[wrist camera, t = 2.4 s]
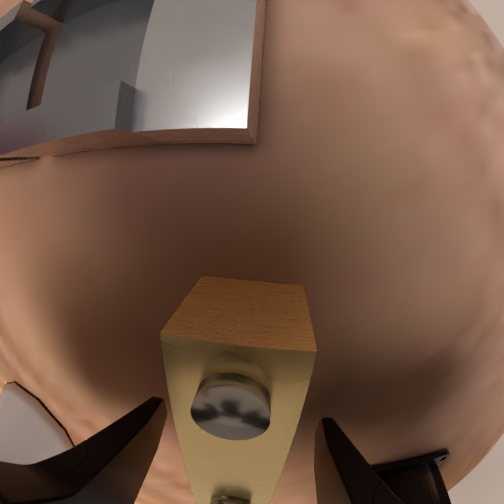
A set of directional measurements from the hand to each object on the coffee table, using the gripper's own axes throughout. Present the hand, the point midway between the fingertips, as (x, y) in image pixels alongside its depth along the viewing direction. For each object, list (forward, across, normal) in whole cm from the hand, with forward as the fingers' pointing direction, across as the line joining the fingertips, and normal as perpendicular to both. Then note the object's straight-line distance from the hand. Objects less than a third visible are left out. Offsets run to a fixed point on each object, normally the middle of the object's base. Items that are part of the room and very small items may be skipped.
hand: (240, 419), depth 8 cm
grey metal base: (+1, +8, -12) cm, 14 cm away
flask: (+1, +16, +9) cm, 18 cm away
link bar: (+1, 0, 0) cm, 1 cm away
